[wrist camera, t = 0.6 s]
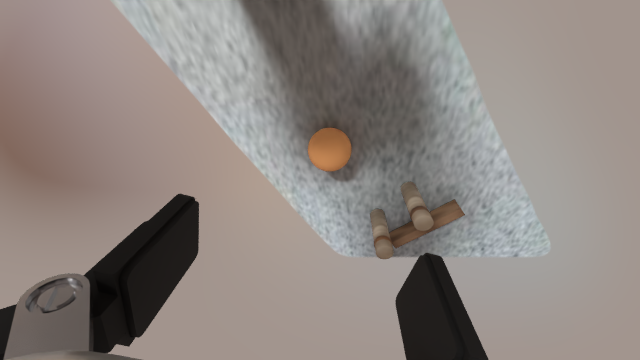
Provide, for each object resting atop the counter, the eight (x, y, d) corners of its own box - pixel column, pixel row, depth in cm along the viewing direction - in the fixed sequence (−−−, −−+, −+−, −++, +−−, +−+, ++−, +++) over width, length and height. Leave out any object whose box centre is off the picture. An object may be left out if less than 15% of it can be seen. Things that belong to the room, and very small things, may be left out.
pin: (397, 186, 41) (410, 221, 33) (411, 178, 40) (428, 212, 32) (405, 197, 42) (419, 234, 34) (419, 189, 41) (437, 225, 33)
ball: (302, 138, 39) (295, 153, 33) (334, 113, 36) (333, 126, 31) (326, 167, 41) (324, 186, 35) (358, 146, 38) (361, 162, 33)
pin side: (366, 213, 44) (372, 251, 36) (379, 206, 43) (387, 243, 35) (375, 222, 45) (381, 262, 37) (387, 216, 44) (397, 254, 36)
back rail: (393, 238, 46) (395, 248, 44) (388, 233, 46) (391, 242, 43) (458, 205, 42) (464, 214, 40) (454, 199, 41) (460, 208, 39)
